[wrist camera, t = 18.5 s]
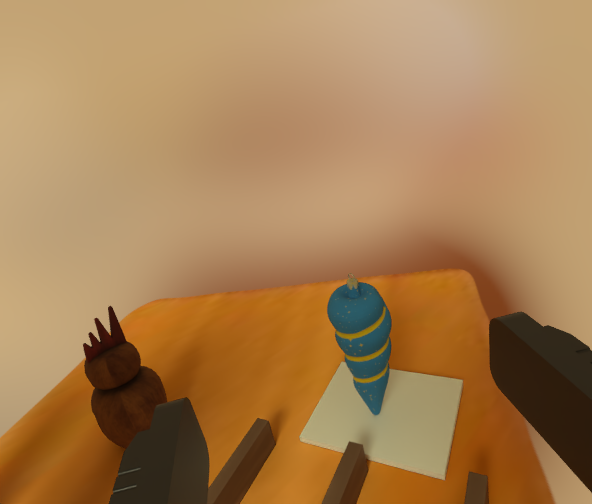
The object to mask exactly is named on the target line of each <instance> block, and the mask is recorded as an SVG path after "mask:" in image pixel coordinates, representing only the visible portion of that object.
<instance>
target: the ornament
mask: <svg viewBox="0 0 592 504" xmlns="http://www.w3.org/2000/svg"><path fill="white" fill-rule="evenodd" d="M350 274H351V273H350ZM348 276H349V275H348ZM353 276H354V275H353ZM327 312H328V317H329V319H330V321H331V323H332V325H333V326H334V327H335V329H336V332H335V337H336V341H337V343H338V345H339V346H340V348H341V349H342V350H343V351H344V353H345V362H346V365H347V367H348V369H349V370H350V372H351V373H352V375H353V383H354V386H355V388H356V390H357V392H358V393H359V395H360V396H361V398H362V399H363V401H364V402H365V404H366V405H367V406H368V408H369V409H370V411H371V412H372V414H374V415H378V414H379V413H380V411H381V407H382V402H383V398H384V394H385V390H386V387H387V383H388V379H389V373H390V371H389V364H388V360H389V357H390V353H391V340H390V337H389V334H390V330H391V316H390V313H389V310H388V308H387V306H386V304H385V302H384V301H383V299H382V297H381V296H380V294H379V293H378V291H377V290H376V289H375V288H374V287H373V286H371V285H369V284H367V283H361V282H358V280H357V279H355V277H354V278H351V279H350V278H349V280H347V284H345V285H343V286H341V287H339V288H338V289H336V290H335V291H334V292H333V294H332V295H331V297H330V299H329V302H328V307H327Z"/></svg>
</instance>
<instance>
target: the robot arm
mask: <svg viewBox="0 0 592 504" xmlns="http://www.w3.org/2000/svg"><path fill="white" fill-rule="evenodd" d="M489 345H490V370H491V374H492V376H493V379H494V381H495V383H496V385H497V386H498V388H499V389H500V390H501V392H502V393H503V394H504V395H505V396H506V397H507V398H508V399H509V400H510V402H511V403H512V404H513V405H514V406H515V407H516V408H517V409H518V411H519V412H520V413H521V414H522V415H523V416H524V417H525V418H526V420H527V421H528V422H529V423H530V424H531V425H532V426H533V427H534V428H535V430H536V431H537V432H538V433H539V434H540V435H541V436H542V437H543V438H544V440H545V441H546V442H547V443H548V444H549V445H550V446H551V448H552V449H553V450H554V451H555V452H556V453H557V454H558V455H559V456H560V458H561V459H562V460H563V461H564V462H565V463H566V464H567V465H568V467H569V468H570V469H571V470H572V471H573V472H574V473H575V474H576V475H577V477H578V478H579V479H580V480H581V481H582V482H583V483H584V484H585V486H586V487H587V488H588V489H589V490H590V491H591V492H592V351H591V350H590V348H589V347H588V346H587V345H585V344H584V343H582V342H581V341H580V340H578V339H577V338H576V337H574V336H573V335H571V334H569V333H566V332H564V331H561V330H559V329H556V328H554V327H551V326H544V327H543V326H541V325H540V324H539V323H537V322H536V321H535V320H534V319H532V318H531V317H530V316H528V315H527V314H525V313H523V312H517V313H513V314H509V315H505V316H501V317H498V318H494V319H492V320H491V321H490V324H489ZM208 482H209V454H208V448H207V444H206V441H205V438H204V436H203V433H202V430H201V428H200V425H199V423H198V420H197V418H196V415H195V412H194V410H193V407H192V405H191V402H190V400H189V399H188V398H182V399H178V400H174V401H171V402H167V403H163V404H159V405H157V406H156V407H155V410H154V414H153V418H152V422H151V426H150V429H148V430H145V431H141V432H138V433H137V434H136V436H135V437H134V438H133V440H132V441H131V443H130V444H129V446H128V447H127V449H126V450H125V451H124V454H123V457H122V461H121V464H120V468H119V471H118V477H117V478H116V481H115V484H114V488H113V494H112V495H111V498H110V501H109V504H207V498H208Z"/></svg>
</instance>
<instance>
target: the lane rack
mask: <svg viewBox="0 0 592 504" xmlns="http://www.w3.org/2000/svg"><path fill="white" fill-rule="evenodd" d="M275 445H276V443H275V440H274V437H273V434H272V431H271V427H270V424H269V421H267V420H263V419H259V418H257V420H256V421H255V423H254V424H253V426H252V427H251V428H250V430H249V431H248V433H247V434H246V436H245V437H244V438H243V440H242V441H241V443H240V444H239V446H238V447H237V448H236V450H235V451H234V453H233V454H232V456H231V457H230V458H229V460H228V461H227V463H226V464H225V466H224V467H223V468H222V470H221V471H220V473H219V474H218V476H217V477H216V478H215V480H214V481H213V483H212V484H211V486H210V487H209V489H208V498H207V504H240V502H241V500H242V499H243V497H244V495H245V494H246V492H247V491H248V489H249V487H250V486H251V484H252V482H253V481H254V479H255V477H256V476H257V474H258V473H259V471H260V469H261V468H262V466H263V464H264V463H265V461H266V459H267V458H268V456H269V455H270V453H271V451H272V450H273V448H274V446H275ZM367 472H368V467H367V462H366V457H365V452H364V448H363V445H362V444H358V443H354V442H351V441H349V443H348V445H347V447H346V449H345V452H344V454H343V456H342V458H341V461H340V463H339V465H338V468H337V470H336V472H335V474H334V477H333V479H332V481H331V484H330V486H329V488H328V490H327V493H326V495H325V497H324V499H323V502H322V504H356V502H357V499H358V497H359V494H360V491H361V489H362V486H363V483H364V480H365V478H366V475H367ZM464 504H489V498H488V477H487V476H485V475H481V474H477V473H473V472H469V475H468V482H467V489H466V496H465V503H464Z"/></svg>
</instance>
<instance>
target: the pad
mask: <svg viewBox="0 0 592 504" xmlns="http://www.w3.org/2000/svg"><path fill="white" fill-rule="evenodd" d="M389 371H390V373H389V379H388V383H387V387H386V390H385V394H384V398H383V402H382V407H381V411H380V413H379V414H378V415H374V414H372V412H371V411H370V409H369V408H368V406H367V405H366V404H365V402H364V401H363V399H362V398H361V396H360V395H359V393H358V392H357V390H356V388H355V386H354V383H353V375H352V373H351V372H350V370H349V369H348V367H347V365H346V362H341V364H340V366H339V367H338V369H337V371H336V373H335V375H334V376H333V378H332V380H331V382H330V383H329V385H328V387H327V389H326V390H325V392H324V394H323V396H322V398H321V399H320V401H319V403H318V405H317V406H316V408H315V410H314V412H313V413H312V415H311V417H310V419H309V421H308V422H307V424H306V426H305V428H304V429H303V431H302V433H301V435H300V436H299V437H300V441H301V442H305V443H308V444H312V445H316V446H320V447H323V448H327V449H331V450H334V451H338V452H342V453H344V452H345V449H346V447H347V445H348V443H349V441H351V442H354V443H358V444H362V445H363V448H364V452H365V457H366V459H368V460H371V461H375V462H379V463H383V464H386V465H390V466H394V467H397V468H401V469H405V470H408V471H412V472H416V473H420V474H423V475H427V476H431V477H434V478H438V479H442V480H445V478H446V473H447V467H448V462H449V457H450V452H451V446H452V441H453V436H454V431H455V426H456V420H457V415H458V410H459V405H460V399H461V394H462V389H463V380H460V379H454V378H447V377H440V376H434V375H427V374H421V373H414V372H407V371H401V370H394V369H389Z"/></svg>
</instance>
